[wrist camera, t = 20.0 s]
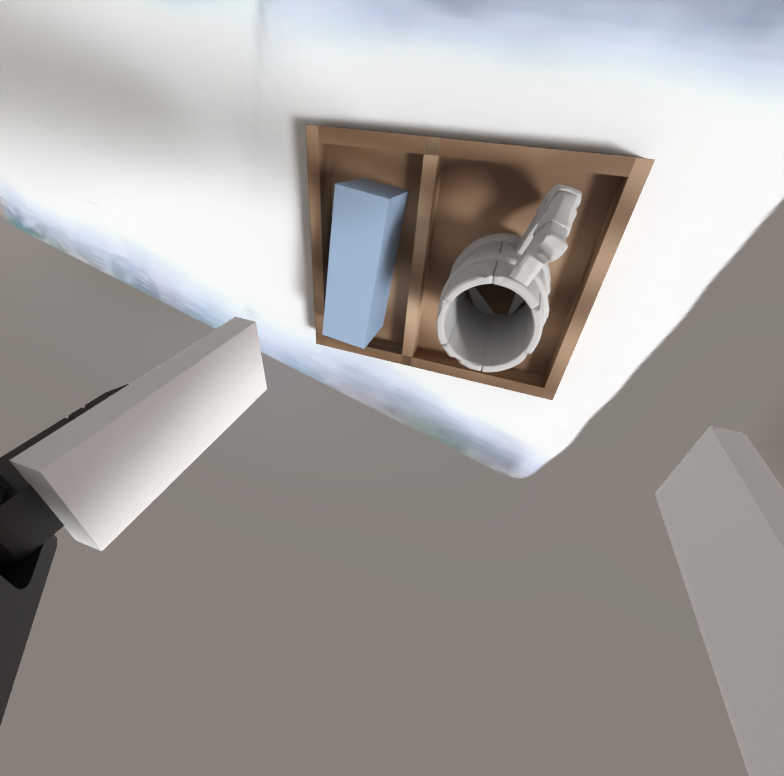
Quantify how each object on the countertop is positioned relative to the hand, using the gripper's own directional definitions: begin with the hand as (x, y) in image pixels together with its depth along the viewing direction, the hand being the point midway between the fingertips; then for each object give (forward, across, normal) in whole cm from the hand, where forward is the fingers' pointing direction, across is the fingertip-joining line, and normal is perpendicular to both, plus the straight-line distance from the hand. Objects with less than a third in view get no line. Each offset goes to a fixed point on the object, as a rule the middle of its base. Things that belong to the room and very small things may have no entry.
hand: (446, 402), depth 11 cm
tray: (+22, -4, -3) cm, 23 cm away
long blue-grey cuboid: (+22, -10, -3) cm, 24 cm away
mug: (+22, +2, -1) cm, 22 cm away
